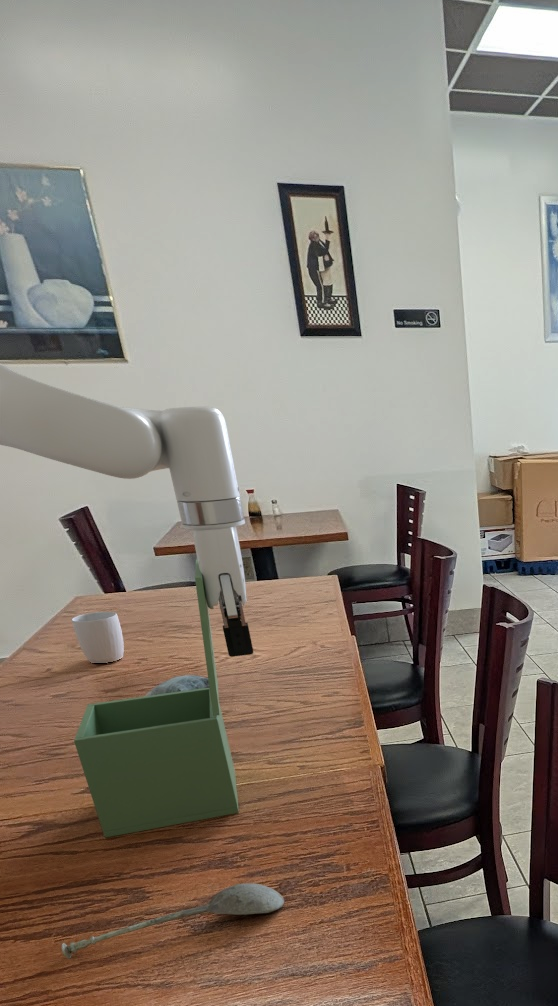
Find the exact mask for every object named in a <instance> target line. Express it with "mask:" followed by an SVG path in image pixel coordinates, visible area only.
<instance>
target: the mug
mask: <svg viewBox="0 0 558 1006" xmlns="http://www.w3.org/2000/svg"><path fill="white" fill-rule="evenodd" d="M71 624H72V627H73V630H74V634H75V637H76V640H77V642H78V644H79V646H80V650H81V651H82V653H83V654H84V656H85V657H86V660H88V661H89V663H90V662H91V663H90V664H92V663H106V662H113V661H116V660H119V659H121V658H122V659H123V657H124V654H125V653H124V652H125V646H124V645H125V644H124V636H123V631H122V627H121V623H120V620H119V616H118V614H117V612H114V611H95V612H87V613H83V614H79V615H77V616H74V617H73V618H72V619H71ZM122 659H121V660H122ZM119 661H120V660H119ZM116 662H117V661H116ZM113 663H114V662H113Z"/></svg>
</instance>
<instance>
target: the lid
mask: <svg viewBox="0 0 558 1006" xmlns="http://www.w3.org/2000/svg"><path fill="white" fill-rule="evenodd" d="M194 568H195V570H194V583H195V588H196V596H197V597H196V598H197V604H198V611H199V619H200V627H201V635H202V643H203V650H204V656H205V665H206V672H207V678H208V680H209V688H210V695H211V703H212V711H213V716H216V715H220V711H219V704H220V696H219V681H218V673H217V665H216V659H215V651H214V642H213V634H212V626H211V619H210V610H209V607H208V606H207V601H206V596H205V591H204V584H203V577H202V573H201V572H200V569H199V564H198V559H197V558H195V567H194Z"/></svg>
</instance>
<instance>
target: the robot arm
mask: <svg viewBox="0 0 558 1006" xmlns="http://www.w3.org/2000/svg"><path fill="white" fill-rule="evenodd" d="M226 422H227V421H226V418H225V416H224V415H223V413H222V412H221V411H220V409H217V408H216V407H213V406H179V407H168V408H166V409H164V410H160V409H159V410H156V409H155V410H154V409H143V408H133V407H127V406H126V407H125V406H117V405H113V404H110V403H108V402H107V403H106V402H105V401H104V402H103V401H100V400H96V399H94V398H90V397H87V396H84V395H80V394H77V393H74V392H71V391H68V390H65V389H63V388H62V389H61V388H58V387H55V386H53V385H50V384H48V383H47V384H46V383H44V382H40V381H38V380H36V379H33V378H30V377H28V376H26V375H23V374H21V373H19V372H17V371H15V370H13V369H12V368H10V367H8V366H7V365H5V364H4V363H0V446H4V447H8V448H13V449H17V450H21V451H24V452H26V453H30V454H33V455H36V456H39V457H43V458H46V459H48V460H52V461H56V462H60V463H62V464H67V465H71V466H74V467H77V468H80V469H84V470H88V471H92V472H95V473H99V474H102V475H106V476H108V477H109V476H110V477H114V478H119V479H125V480H126V479H127V480H132V479H133V480H134V479H139V478H141V477H144V476H146V475H147V474H149V473H151V472H154V471H159V470H165V469H169V473H170V477H171V481H172V486H173V490H174V495H175V500H176V504H177V508H178V512H179V517H180V521H181V527H182V529H183V530H188V531H192V536H193V542H194V543H193V544H194V549H195V554H196V559H198V564H199V569H200V572H201V573H202V577H203V584H204V591H205V596H206V601H207V606H208V609H210V610H214V607H216V606H218V604H219V610H220V613H221V618H222V623H223V625H222V630H223V635H224V640H225V645H226V649H227V655H228V656H229V657H231V658H234V657H243V656H249V655H253V654H254V648H253V643H252V638H251V633H250V628H249V624H248V622H246V617H245V613H244V607H243V606H245V605H246V604H247V602H248V600H247V585H246V576H245V569H244V561H243V557H242V551H241V546H240V540H239V534H238V529H237V527H240V526H243V525H245V524H246V520H245V515H244V514H245V513H244V511H243V510H244V509H243V505H242V500H241V494H240V489H239V484H238V478H237V473H236V469H235V468H236V467H235V463H234V459H233V452H232V448H231V442H230V438H229V437H230V436H229V432H228V427H227V423H226Z"/></svg>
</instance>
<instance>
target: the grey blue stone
mask: <svg viewBox="0 0 558 1006" xmlns="http://www.w3.org/2000/svg"><path fill="white" fill-rule="evenodd" d="M201 688H209V680H208V677H204V676H200V675H197V674H196V675H195V674H194V675H193V674H185V675H179V676H174V677H172V678H170V679H167V680H165V681H163V682H160V683H159V684H157V685H156V686H155V687H153V688H152V689H151V690H149V691H148V692H147V693H146V694H145V695H144V696H151V695H158V694H165V693H173V692H180V691H187V690H194V689H201Z"/></svg>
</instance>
